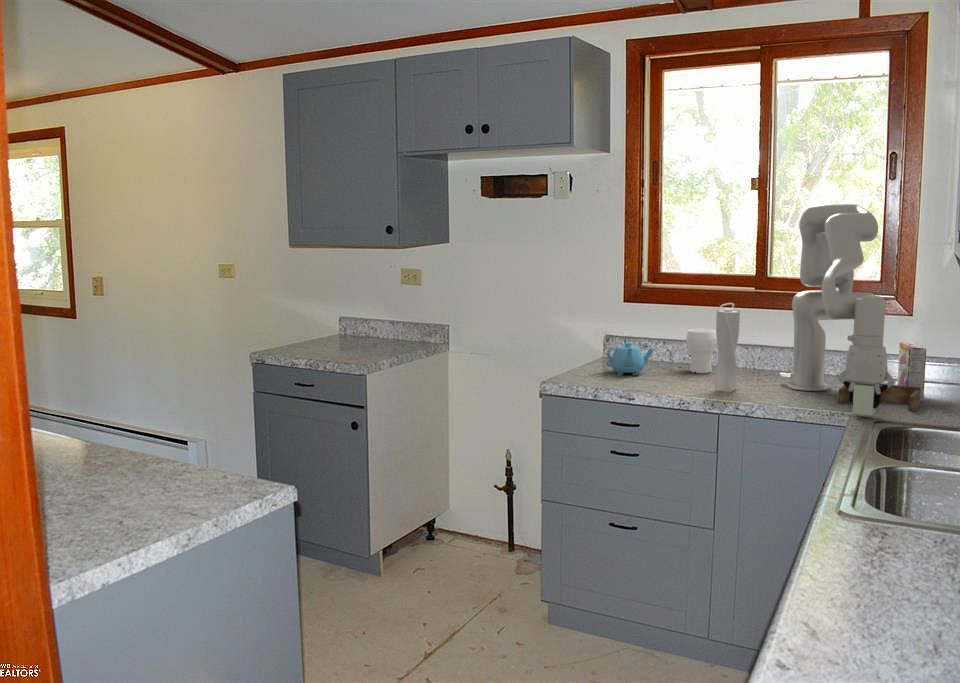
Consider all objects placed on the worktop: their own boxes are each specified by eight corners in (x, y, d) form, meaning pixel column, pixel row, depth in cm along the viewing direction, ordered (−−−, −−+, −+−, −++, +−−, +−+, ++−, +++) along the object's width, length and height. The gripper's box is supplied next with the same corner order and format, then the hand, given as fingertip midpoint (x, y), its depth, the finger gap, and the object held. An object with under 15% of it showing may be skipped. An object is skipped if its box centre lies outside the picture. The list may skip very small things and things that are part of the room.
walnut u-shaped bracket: (838, 404, 251) (838, 387, 250) (847, 396, 261) (848, 380, 260) (912, 412, 240) (913, 394, 239) (919, 404, 249) (920, 387, 248)
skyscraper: (719, 386, 279) (721, 302, 275) (741, 388, 275) (744, 303, 271) (710, 390, 273) (712, 304, 269) (733, 393, 268) (735, 305, 264)
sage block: (852, 413, 233) (853, 384, 232) (856, 409, 237) (858, 381, 236) (872, 415, 230) (873, 386, 229) (875, 411, 234) (877, 383, 233)
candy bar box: (895, 394, 264) (898, 342, 261) (912, 394, 263) (916, 342, 260) (905, 401, 253) (909, 347, 251) (924, 402, 252) (927, 347, 250)
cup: (679, 371, 307) (680, 330, 305) (696, 367, 314) (697, 327, 312) (705, 375, 299) (706, 333, 297) (721, 371, 306) (722, 330, 304)
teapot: (657, 374, 302) (658, 343, 301) (629, 379, 294) (630, 346, 293) (627, 368, 315) (627, 338, 313) (599, 372, 307) (599, 342, 305)
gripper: (831, 340, 233) (828, 405, 236) (899, 345, 223) (895, 412, 226) (838, 337, 239) (835, 400, 242) (904, 341, 229) (900, 407, 232)
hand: (864, 405), depth 234 cm, fingers closed on sage block, 5 cm apart
